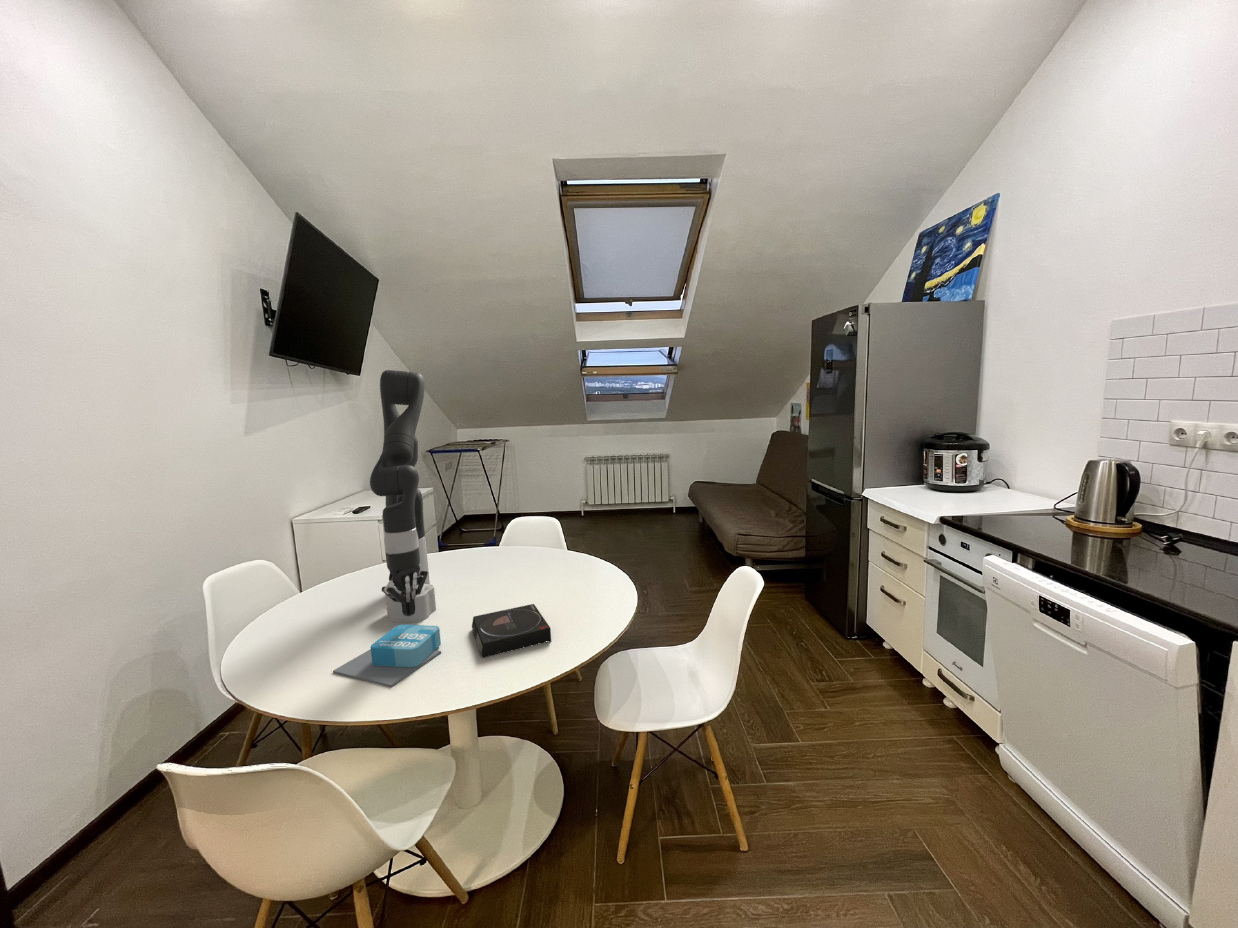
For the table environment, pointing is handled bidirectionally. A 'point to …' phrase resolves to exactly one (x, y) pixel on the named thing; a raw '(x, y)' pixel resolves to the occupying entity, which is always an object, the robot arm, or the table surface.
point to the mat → (378, 670)
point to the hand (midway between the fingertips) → (409, 614)
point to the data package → (405, 646)
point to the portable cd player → (510, 630)
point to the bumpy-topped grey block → (422, 606)
